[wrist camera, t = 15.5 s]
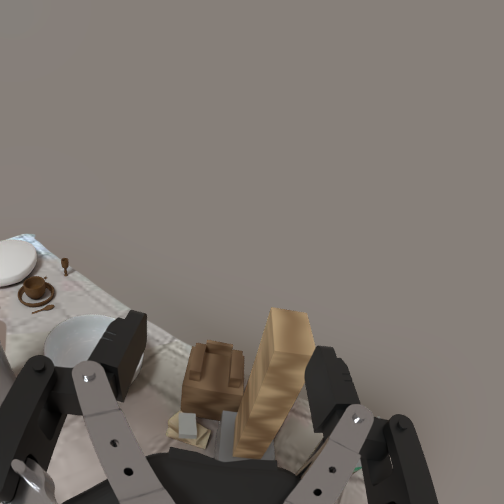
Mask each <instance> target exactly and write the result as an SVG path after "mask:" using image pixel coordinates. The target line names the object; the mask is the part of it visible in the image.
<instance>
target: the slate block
mask: <svg viewBox="0 0 504 504" xmlns="http://www.w3.org/2000/svg"><path fill="white" fill-rule="evenodd" d="M237 413H238V412H231V411H224V410H223V412H222V415H221V419H220V423H219V426H218V430H217V435H216V445H215V456H214V459H216V460H219V461H222V462H231V461H240V460H248V459H251V458H241V457H233V443H234V429H235V419H236V416H237ZM258 460H275V453H274V439H273V440H272V442H271V444H270V445H269V447H268V448H267V450H266V452H265V453H264V455H263V456H262V458H261V459H258Z"/></svg>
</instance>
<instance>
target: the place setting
mask: <svg viewBox="0 0 504 504" xmlns="http://www.w3.org/2000/svg"><path fill="white" fill-rule="evenodd" d="M61 264H62V267H63V268H64V273H65V275H64V276H68V275H67V268H68V259H67V258H63V259H61ZM45 278H47V277H44V279H45ZM44 279H43V278H42V277H39V276H33V277H30V278H27V279H26V280H25V281H24V283H23V285H24V286H22V287H21V288H20V290H19V291H18V298H19V300H20V302H21V303H22V304H24V305H25V306H29V307H39V306H42V305H45V304H47V303H48V302H49V301H50V300H51V299H52V298H53V295H54V288H53V286H52V285H51V284H49V283H47V282H45V280H44ZM46 288H47V289H49V290H50V291H51V296H50V297H49V298H48V299H47V300H45V301H43V302H40V303H34V304H31V303H26V302H24V301H22V295H23V293H24V292H25V293H26V295H27V296H28V297H30V298H32V299H39V298H40V297H41V296H42V295H43V294H44V293H45V289H46ZM53 307H54V305H48V306H46V307H45V308H43V309H41V310H38V311H35V312H32V314H34V313H37V312H39V311H42V310H50V309H52V308H53Z"/></svg>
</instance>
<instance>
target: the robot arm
mask: <svg viewBox="0 0 504 504" xmlns="http://www.w3.org/2000/svg"><path fill="white" fill-rule="evenodd" d="M146 341H147V314H145V313H142V312H137V311H134V310H130V311H129V313H128V315H127V316H126V318H125V319H122V318H117V319H115V320H114V321H112V322H111V323H110V324H109V326H108V327H107V329H106V331H105V332H104V334H103V335H102V338H100V340H99V342H98V343H97V345H96V347H95V348H94V350H93V352H92V353H91V355H90V357H89V358H88V360H87V361H82V362H80V363H78V364H77V365H75V367H73V368H68V367H58V366H54V364H53V362H52V360H51V359H50V358H48V357H46V356H43V355H37V356H33V357H31V358H30V359H29V360H28V361H27V362H26V364H25V365H24V367H23V368H22V370H21V372H20V373H19V375H18V377H17V378H16V377H15V375H14V373H13V370H12V368H11V366H10V364H9V362H8V359H7V357H6V355H5V352H4V350H3V347H2V345H1V342H0V504H58V503H57V501H56V499H55V494H54V492H55V485H54V482H53V480H52V478H51V477H50V475H49V474H48V473H47V469H48V466H49V463H50V460H51V457H52V454H53V451H54V448H55V445H56V443H57V440H58V437H59V435H60V432H61V429H62V427H63V424H64V422H65V419H66V417H67V414H72V415H83V418H84V421H85V424H86V427H87V430H88V433H89V436H90V438H91V441H92V444H93V446H94V449H95V451H96V454H97V456H98V458H99V461H100V463H101V465H102V468H103V470H104V472H105V474H106V476H107V479H106V480H104V481H103V482H101V483H99V484H97V485H95V486H94V487H92V488H90V489H88V490H86V491H84V492H82V493H80V494H79V495H77V496H75V497H73V498H71V499H69V500H67V501H65V502H63V503H62V504H335V502H336V500H337V499H338V497H339V496H340V494H341V492H342V491H343V489H344V487H345V485H346V484H347V482H348V480H349V478H350V477H351V475H352V473H353V471H354V469H355V467H356V465H357V463H358V462H359V460H361V466H362V471H363V476H364V482H365V488H366V494H367V500H368V504H438V501H437V497H436V493H435V489H434V486H433V482H432V479H431V476H430V473H429V469H428V466H427V463H426V460H425V457H424V454H423V451H422V448H421V445H420V442H419V439H418V436H417V433H416V431H415V428H414V425H413V423H412V421H411V420H410V419H409V418H408V417H406V416H404V415H400V414H396V415H394V416H392V417H391V418H390V419H389V420H384V419H380V418H376V417H373V414H372V412H371V411H370V410H369V409H368V408H367V407H365V406H363V405H361V404H360V401H359V398H358V395H357V392H356V389H355V386H354V384H353V382H352V378H351V376H350V372H349V370H348V367H347V365H346V364H345V363H344V361H343V360H342V359H341V358H337V357H336V354H335V351H334V349H333V347H326V346H317V347H316V348H315V350H314V352H313V354H312V356H311V358H310V360H309V362H308V364H307V366H306V369H305V373H304V380H305V385H306V390H307V395H308V401H309V406H310V412H311V417H312V423H313V428H314V433H323V436H324V437H323V438H322V440H321V441H320V442H319V444H318V445H317V447H316V448H315V449H314V451H313V452H312V454H311V455H310V456H309V458H308V459H307V461H306V462H305V463H304V465H303V466H302V467H301V468H300V469H299V470H298V472H297V473H296V474H293V473H292V472H290V471H288V470H286V469H283V468H280V467H277V460H258V459H248V460H240V461H231V462H222V461H219V460H216V459H213V458H211V457H208V456H205V455H203V454H200V453H198V452H193V451H188V450H183V449H178V448H173V447H170V450H169V453H157V454H152V455H148V456H144V454H143V452H142V450H141V448H140V446H139V445H138V443H137V441H136V439H135V437H134V435H133V433H132V431H131V429H130V426H129V424H128V422H127V420H126V418H125V416H124V414H123V412H122V410H121V409H120V408H119V406H118V404H117V402H116V400H117V401H120V402H124V400H125V397H126V394H127V392H128V389H129V387H130V384H131V382H132V379H133V377H134V374H135V372H136V369H137V367H138V365H139V362H140V360H141V357H142V355H143V353H144V350H145V347H146ZM389 455H390V456H389ZM390 458H391V460H390ZM391 461H392V464H391ZM392 465H393V468H392Z"/></svg>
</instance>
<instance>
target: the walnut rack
mask: <svg viewBox="0 0 504 504" xmlns="http://www.w3.org/2000/svg"><path fill="white" fill-rule="evenodd" d="M232 349H233V344H227V343H222V342H216V341H211V340H207V344H201V343H196V346H195V347H193V346H192V349H191V353H190V357H189V361H188V365H187V369H186V373H185V377H184V381H183V385H182V398H181V411H182V412H183V413H193V414H196V417H200V418H206V419H212V420H218V421H220V419H221V415H222V412H223V410H224V411H231V412H238V410H239V407H240V404H241V401H242V398H243V386H244V356H242V353H243V352H242V351H239V350H232ZM231 353H232V354H231Z"/></svg>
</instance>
